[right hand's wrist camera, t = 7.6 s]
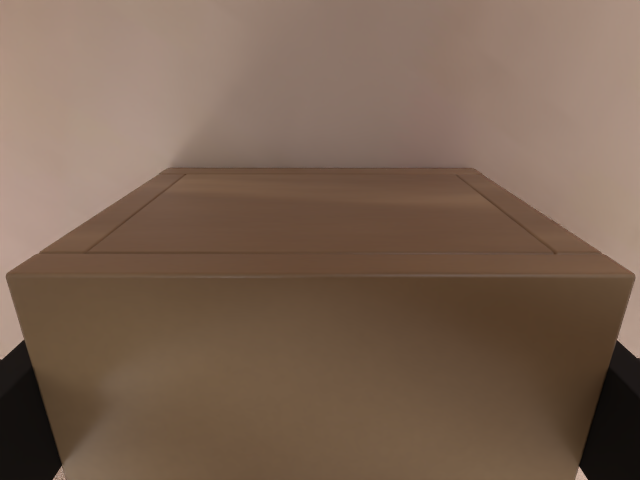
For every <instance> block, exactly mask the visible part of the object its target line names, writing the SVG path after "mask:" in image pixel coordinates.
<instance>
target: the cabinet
mask: <svg viewBox="0 0 640 480" xmlns="http://www.w3.org/2000/svg"><path fill="white" fill-rule="evenodd" d="M6 279H7V283H8V286H9V290H10V293H11V296H12V300H13V303H14V306H15V310H16V313H17V316H18V320H19V323H20V326H21V330H22V333H23V337H24V340H25V343H26V347H27V350H28V353H29V357H30V360H31V363H32V367H33V370H34V373H35V377H36V380H37V384H38V387H39V390H40V394H41V397H42V400H43V404H44V407H45V410H46V414H47V417H48V420H49V424H50V427H51V431H52V434H53V437H54V441H55V444H56V447H57V451H58V454H59V457H60V461H61V464H62V467H63V471H64V474H65V478H66V480H575V478H576V474H577V471H578V468H579V464H580V461H581V458H582V454H583V451H584V448H585V444H586V441H587V438H588V434H589V431H590V428H591V424H592V421H593V418H594V414H595V411H596V408H597V404H598V401H599V398H600V394H601V391H602V388H603V384H604V381H605V378H606V374H607V371H608V368H609V364H610V361H611V358H612V354H613V351H614V348H615V344H616V341H617V338H618V334H619V331H620V328H621V324H622V321H623V318H624V314H625V311H626V308H627V304H628V301H629V298H630V294H631V291H632V288H633V284H634V281H635V274H634V273H632V272H631V271H629V270H628V269H626V268H625V267H623V266H621V265H620V264H618V263H617V262H615V261H614V260H612V259H611V258H609V257H608V256H606V255H604V254H602V253H601V252H600V251H598V250H597V249H595V248H594V247H592V246H591V245H589V244H588V243H586V242H585V241H583V240H582V239H580V238H578V237H577V236H575V235H574V234H572V233H571V232H569V231H568V230H566V229H565V228H563V227H562V226H560V225H559V224H557V223H556V222H554V221H553V220H551V219H549V218H548V217H546V216H545V215H543V214H542V213H540V212H539V211H537V210H536V209H534V208H533V207H531V206H530V205H528V204H527V203H525V202H523V201H522V200H520V199H519V198H517V197H516V196H514V195H513V194H511V193H510V192H508V191H507V190H505V189H504V188H502V187H501V186H499V185H497V184H496V183H494V182H493V181H491V180H490V179H488V178H487V177H485V176H484V175H482V174H481V173H480V172H478V171H477V170H475V169H474V168H167V169H166V170H164V171H163V172H161V173H160V174H159V175H157V176H156V177H154V178H153V179H151V180H149V181H148V182H146V183H145V184H143V185H142V186H140V187H139V188H137V189H136V190H134V191H133V192H131V193H129V194H128V195H126V196H125V197H123V198H122V199H120V200H119V201H117V202H116V203H114V204H113V205H111V206H109V207H108V208H106V209H105V210H103V211H102V212H100V213H99V214H97V215H96V216H94V217H93V218H91V219H89V220H88V221H86V222H85V223H83V224H82V225H80V226H79V227H77V228H76V229H74V230H73V231H71V232H69V233H68V234H66V235H65V236H63V237H62V238H60V239H59V240H57V241H56V242H54V243H53V244H51V245H49V246H48V247H46V248H45V249H43V250H42V251H40V253H39V254H36V255H34V256H33V257H31V258H30V259H28V260H26V261H25V262H23V263H22V264H20V265H19V266H17V267H16V268H14V269H13V270H11V271H10V272H8V273H7V274H6Z"/></svg>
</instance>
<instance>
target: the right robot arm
mask: <svg viewBox="0 0 640 480" xmlns="http://www.w3.org/2000/svg"><path fill="white" fill-rule="evenodd" d="M61 466H62V464H61V461H60V457H59V454H58V451H57V447H56V444H55V441H54V437H53V434H52V431H51V427H50V424H49V420H48V417H47V414H46V410H45V407H44V404H43V400H42V397H41V394H40V390H39V387H38V384H37V380H36V377H35V373H34V370H33V367H32V363H31V360H30V357H29V353H28V350H27V347H26V343H25V340H23V341H22V342H21V343H20V344H19V345H18V346H17V347H16V348H14V349H13V350H12V351H11V352H10V353H9V354H8V355H7V356H6V357H5V358H3V359H2V360H0V480H53V478H54V477H55V475H56V474H57V472H58V471H59V469H60V467H61ZM579 467H580V468H581V470H582V471H583V473H584V474H585V476H586V477H587V479H588V480H640V358H636V357H635V356H634V355H633V354H632V353H631V352H629V351H628V350H627V349H626V348H625V347H624V346H623V345H622V344H621V343H620V342H618V341H616V344H615V348H614V351H613V354H612V358H611V361H610V364H609V368H608V371H607V374H606V378H605V381H604V384H603V388H602V391H601V394H600V398H599V401H598V404H597V408H596V411H595V414H594V418H593V421H592V424H591V428H590V431H589V434H588V438H587V441H586V444H585V448H584V451H583V454H582V458H581V461H580V464H579Z"/></svg>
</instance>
